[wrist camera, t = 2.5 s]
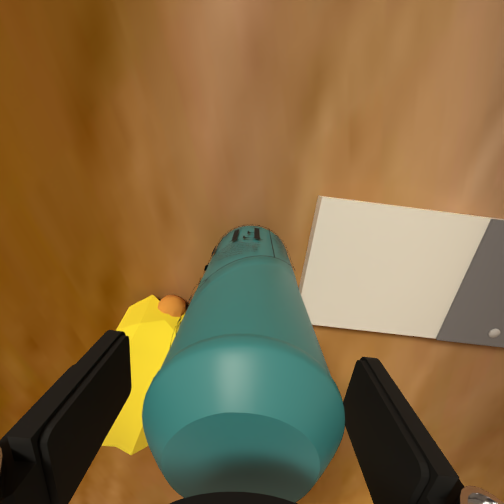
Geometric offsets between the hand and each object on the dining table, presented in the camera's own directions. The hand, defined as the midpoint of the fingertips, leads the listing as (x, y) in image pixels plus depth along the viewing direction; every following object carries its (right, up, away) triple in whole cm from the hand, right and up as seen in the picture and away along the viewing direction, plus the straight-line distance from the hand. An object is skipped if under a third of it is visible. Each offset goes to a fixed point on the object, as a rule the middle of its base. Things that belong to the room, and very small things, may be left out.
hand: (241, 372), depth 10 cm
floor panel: (+18, +3, +13) cm, 22 cm away
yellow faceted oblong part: (-10, -6, +17) cm, 20 cm away
